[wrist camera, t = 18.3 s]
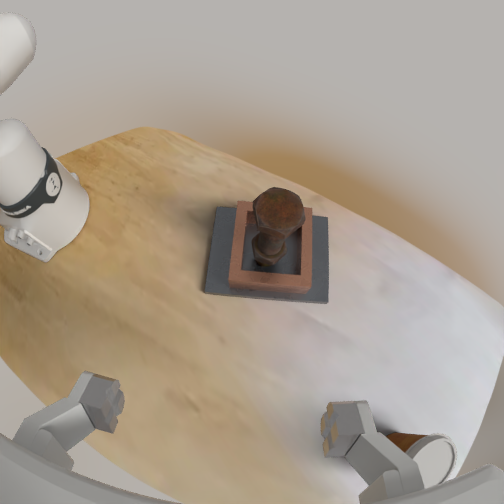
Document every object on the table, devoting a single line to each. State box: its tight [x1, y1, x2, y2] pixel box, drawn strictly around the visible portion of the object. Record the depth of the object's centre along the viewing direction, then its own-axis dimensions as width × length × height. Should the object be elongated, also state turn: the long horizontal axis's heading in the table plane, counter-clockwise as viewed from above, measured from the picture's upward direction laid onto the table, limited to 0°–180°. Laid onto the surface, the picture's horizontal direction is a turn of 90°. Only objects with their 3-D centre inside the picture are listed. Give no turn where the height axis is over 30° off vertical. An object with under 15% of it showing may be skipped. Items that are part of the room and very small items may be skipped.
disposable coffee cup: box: [386, 433, 457, 489], centre depth 29 cm, size 10×10×12 cm
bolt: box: [251, 187, 306, 267], centre depth 37 cm, size 6×5×15 cm
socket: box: [205, 201, 329, 304], centre depth 43 cm, size 18×14×5 cm
